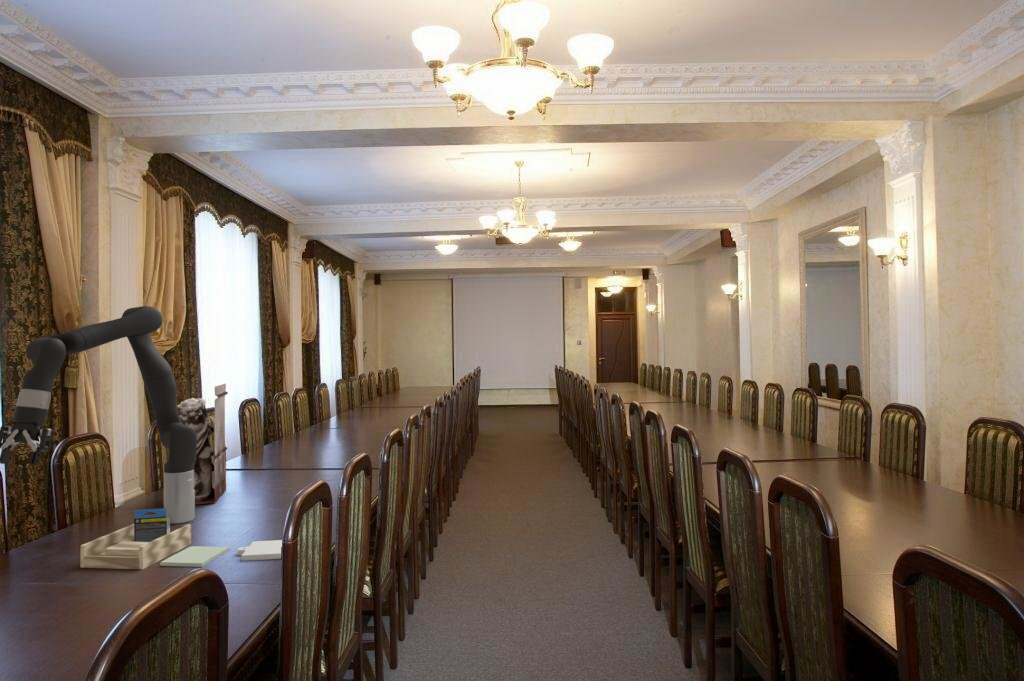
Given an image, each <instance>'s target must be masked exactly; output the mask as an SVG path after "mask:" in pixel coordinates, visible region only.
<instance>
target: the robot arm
mask: <svg viewBox="0 0 1024 681" xmlns="http://www.w3.org/2000/svg"><path fill="white" fill-rule="evenodd" d="M162 325H163V315H162V313H161V311H160V310H159V309H157V308H155V307H153V306H149V305H143V306H142V305H141V306H135V307H130V308H127V309H126V310H124V312H123V313H122V314H121V317H119V318H116V319H112V320H107V321H103V322H98V323H93V324H92V323H91V324H89V325H88V324H87V325H86V326H85V325H84V326H81V327H78V328H74V329H71V330H68V331H66V332H63V333H58V334H52V335H48V336H45V337H44V336H43V337H39V338H35V339H34V340H32V341H31V342H29V344H27V346H26V349H25V355H26V357H27V358H28V359H29V360H31V361H32V362H35V363H34V366H33V367H32V368H30V369H29V370H27V371H26V372H25V375H24V376H23V380H22V384H21V389H20V391H19V394H18V396H17V399H16V404H15V409H14V411H13V415H12V422H13V424H12V425H11V426H9V425H1V426H0V450H1V451H0V464H1V465H8V464H9V463H10V459H11V456H12V452H13V451H12V449H13V448H14V447H15V446H17V445H19V444H20V443H22V444H25V443H26V444H28V446H30V447H31V453H30V456H29V457H30V458H29V461H28V465H29V466H31V467H37V466H38V465H39V463H40V459H41V456H42V453H43V452H45V451H50V449H51V444H52V439H53V433H54V430H53V429H52V428H46V427H44V428H43V426H44V425H45V424H46V422H47V421H46V420H47V417H48V412H49V410H50V409H49V407H50V404H51V395H52V391H53V386H54V383H55V382H54V381H55V378H56V376H57V375H58V373H59V372H60V369H61V367H62V365H63V363H64V361H65V359H66V356H67V355H72V354H79V353H82V352H84V351H88V350H90V349H94V348H97V347H99V346H103V345H105V344H109V343H111V342H114V341H116V340H120V339H124V338H127V340H128V342H129V344H130V347H131V349H132V351H133V354H134V357H135V360H136V363H137V366H138V368H139V372H140V374H141V378H142V381H143V384H144V388H145V390H146V391H145V392H146V393H147V396H148V400H149V402H150V404H151V408H152V410H153V413H154V417H155V420H156V421H155V422H156V425H157V431H158V432H157V433H158V436H159V441H160V443H161V445H162V446H163V447H164V448H165V449H167V450H168V459H167V461H166V462H165V463H164V465H163V508H166V516H167V517H168V518H170V525H173V524H174V525H175V524H182V523H188V522H190V521H193V520H194V519H195V517H196V513H195V512H196V509H195V508H196V505H195V490H194V464H195V461H196V452H197V436H196V432H195V430H194V429H193V428H192V427H190V426H188V425H186V424H184V423H183V422H182V420H181V419H180V417H179V416H180V414H179V413H178V412H179V411H178V408H177V396H178V389H177V388H178V386H177V382H176V378H175V375H174V372H173V369H172V366H171V365H170V364H169V362H168V361H167V360H166V359H165V358H164V356H163V355H162V354H161V353H160V352H159V350H158V349H157V348H156V346H155V344H154V342H153V339H152V335H151V334H152V333H155V332H156V331H158V330H159V329H160V328H161V326H162ZM40 436H41V437H40Z"/></svg>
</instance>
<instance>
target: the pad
mask: <svg viewBox="0 0 1024 681" xmlns="http://www.w3.org/2000/svg"><path fill="white" fill-rule="evenodd" d="M229 551H230V546H203V545H202V546H199V545H198V546H196V545H193V546H192V545H189V546H187V547H185V549H184V548H183V549H182V550H180V551H178V552H176V553H174V554H172V555H170V556H168V557H166V558H164V560H161V561H160V562H159V563H160V566H161V567H186V568H187V567H192V568H193V567H194V568H195V567H196V568H203V567H204V566H206V565H208V564H210V563H211V562H213V561H214V560H216V559H218V558H219V557H221V556H223V555H224V554H226V553H228V552H229Z"/></svg>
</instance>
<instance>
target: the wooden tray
mask: <svg viewBox="0 0 1024 681" xmlns="http://www.w3.org/2000/svg"><path fill="white" fill-rule="evenodd" d="M122 541H127V542H134V523H132V524H130V525H127V526H125V527H122V528H120V529H118V530H116V531H115V530H114V531H113V532H110V533H108V534H106V535H103V536H100V537H98V538H95V539H93V540H91V541H88V542H85V543H83V544H81V545H80V563H79V565H80V568H84V569H86V568H88V569H118V570H119V569H121V570H122V569H123V570H144V569H146V568H148V567H150V566H152V565H154V564H156V563H159V561H160V562H161V561H163V559H164V560H165V559H166V558H168V557H170V556H172V555H174V554H176V553H178V552H180V551H182V550H184V548H185V549H186V548H188V547H189V546H191V545H192V524H190V523H189V524H185V525H183V526H181V527H180V528H177V529H175V530H173V531H170V533H168V534H166V535H164V536H162V537H160V538H157V539H155V540H153V541H151V542H149V543H147V544H145V545H142V546H140V547H139V557H129V556H100V554H102V553H104V552H105V549H106V548H109V547H111V546H113V545H115V544H118V543H120V542H122Z"/></svg>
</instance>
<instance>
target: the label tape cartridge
mask: <svg viewBox="0 0 1024 681" xmlns="http://www.w3.org/2000/svg"><path fill="white" fill-rule="evenodd" d="M150 513H151V514H150ZM133 515H134V516H133V517H134V518H133V524H134V542H151V541H153V540H155V539H157V538H160V537H162V536H164V535H166V534H168V533H170V532H171V524H170V518H168V517H167V516H166V508H164V507H162V508H146V509H145V508H144V509H134V510H133Z"/></svg>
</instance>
